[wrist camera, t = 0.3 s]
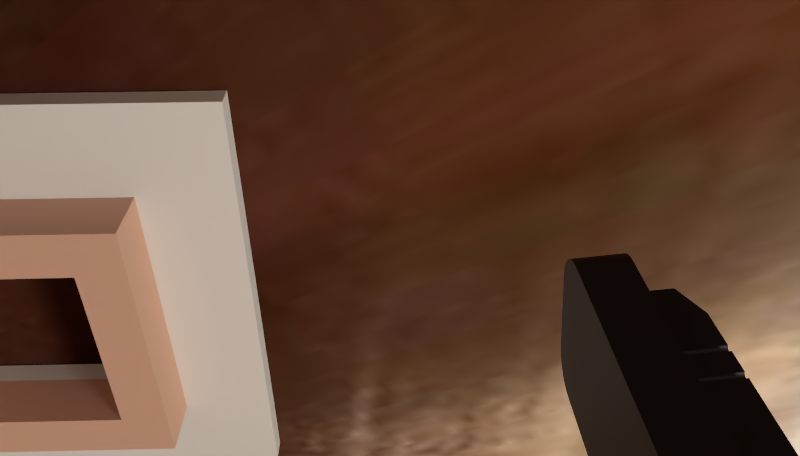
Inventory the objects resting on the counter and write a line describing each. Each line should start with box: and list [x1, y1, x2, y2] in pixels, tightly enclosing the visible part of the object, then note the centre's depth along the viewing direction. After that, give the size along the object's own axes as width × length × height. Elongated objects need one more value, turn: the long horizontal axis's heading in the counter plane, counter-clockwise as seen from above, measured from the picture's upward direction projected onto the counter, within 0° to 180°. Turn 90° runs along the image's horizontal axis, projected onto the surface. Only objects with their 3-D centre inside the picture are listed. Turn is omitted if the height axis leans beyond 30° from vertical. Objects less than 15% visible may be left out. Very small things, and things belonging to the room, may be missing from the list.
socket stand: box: [0, 90, 280, 456], centre depth 31 cm, size 20×20×4 cm
